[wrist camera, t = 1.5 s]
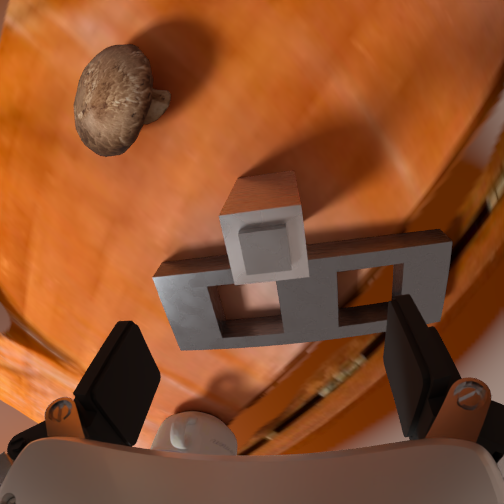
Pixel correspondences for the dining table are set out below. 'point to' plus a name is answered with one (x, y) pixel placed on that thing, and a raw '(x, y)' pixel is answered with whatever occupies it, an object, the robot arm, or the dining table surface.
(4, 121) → the dining table surface
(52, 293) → the dining table surface
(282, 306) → the rail
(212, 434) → the teacup
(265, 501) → the robot arm
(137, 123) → the mushroom
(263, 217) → the grey rectangular block
